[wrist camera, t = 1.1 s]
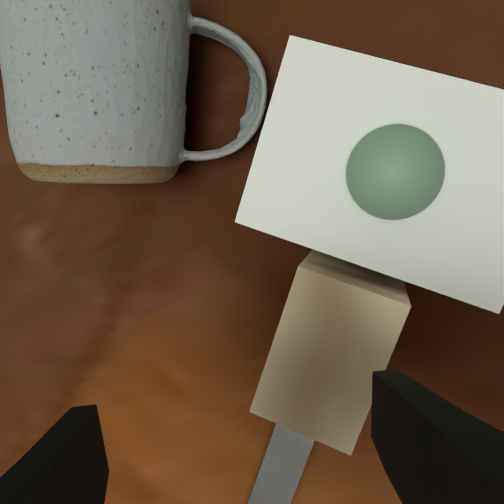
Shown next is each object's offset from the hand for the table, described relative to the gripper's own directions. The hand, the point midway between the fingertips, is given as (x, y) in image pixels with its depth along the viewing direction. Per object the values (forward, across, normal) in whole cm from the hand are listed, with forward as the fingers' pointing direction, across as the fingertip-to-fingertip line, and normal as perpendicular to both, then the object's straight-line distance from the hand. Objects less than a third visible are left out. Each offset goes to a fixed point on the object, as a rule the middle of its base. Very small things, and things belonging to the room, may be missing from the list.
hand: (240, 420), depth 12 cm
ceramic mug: (+15, +2, -9) cm, 17 cm away
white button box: (+10, -8, -4) cm, 14 cm away
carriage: (+10, -6, +2) cm, 12 cm away
